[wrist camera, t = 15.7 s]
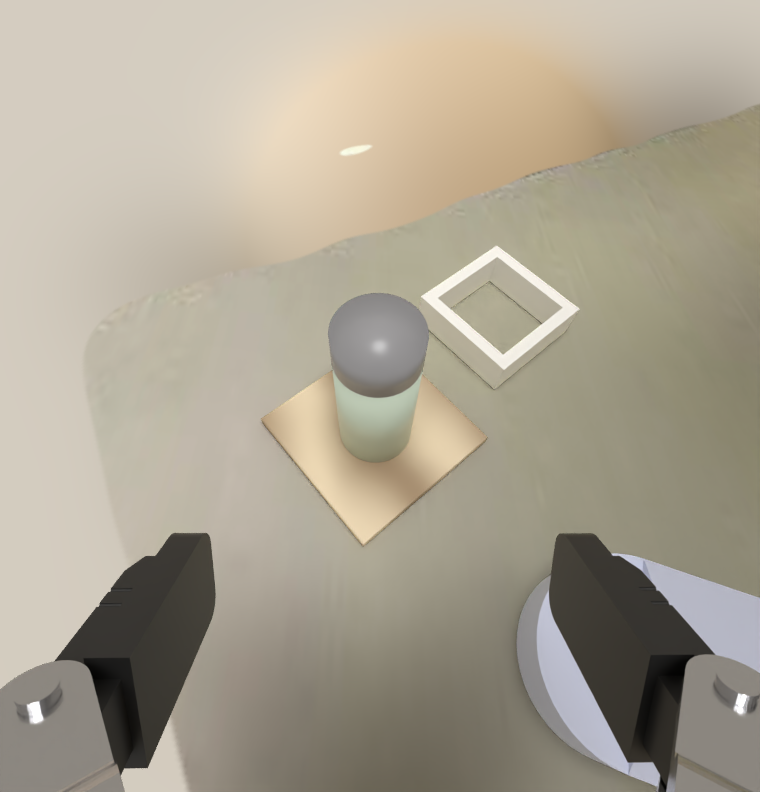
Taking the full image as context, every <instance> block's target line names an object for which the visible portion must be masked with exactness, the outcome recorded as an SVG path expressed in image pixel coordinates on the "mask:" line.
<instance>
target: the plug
mask: <svg viewBox="0 0 760 792" xmlns="http://www.w3.org/2000/svg"><path fill="white" fill-rule="evenodd" d="M328 337H329V346H330V354H331V362H332V371H333V379H334V387H335V396H336V404H337V413H338V421H339V429H340V436H341V440H342V442H343V444H344V446H345V448H346V449H347V450H348V451H349V452H350V453H351V454H352V455H353V456H355V457H357V458H358V459H361V460H363V461H367V462H384V461H388V460H390V459H393V458H394V457H396V456H397V455H399V454H400V453H401V452H402V451H403V450H404V449H405V447H406V446H407V444H408V442H409V439H410V435H411V429H412V424H413V419H414V414H415V408H416V403H417V398H418V393H419V387H420V382H421V377H422V372H423V366H424V361H425V356H426V350H427V345H428V339H429V329H428V325H427V322H426V320H425V318H424V316H423V315H422V313H421V312H420V311H419V310H418V309H417V308H416V307H415V306H414V305H413V304H412V303H410V302H408V301H407V300H405V299H403V298H401V297H398V296H395V295H391V294H384V293H371V294H365V295H361V296H358V297H355V298H353V299H351V300H349V301H347V302H346V303H345V304H343V305H342V306H341V307H340V308H339V309H338V310H337V311H336V312H335V314H334V315H333V317H332V319H331V321H330V324H329V329H328Z"/></svg>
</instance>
